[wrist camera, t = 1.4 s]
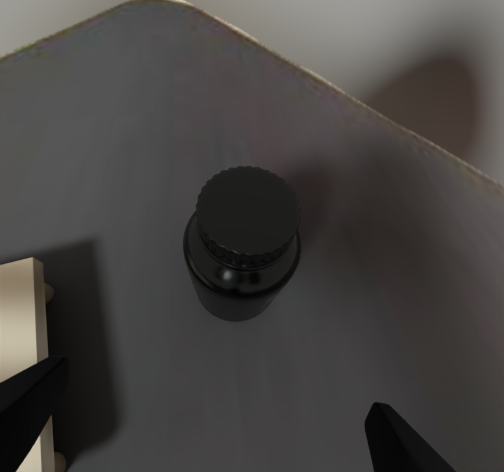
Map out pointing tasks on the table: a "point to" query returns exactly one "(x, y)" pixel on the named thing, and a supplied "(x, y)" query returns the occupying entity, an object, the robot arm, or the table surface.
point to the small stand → (27, 343)
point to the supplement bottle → (242, 242)
